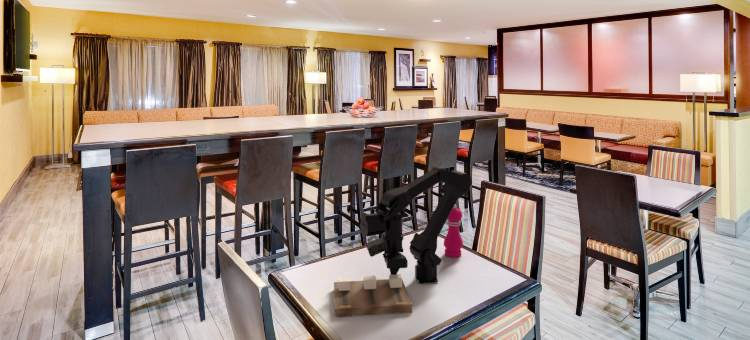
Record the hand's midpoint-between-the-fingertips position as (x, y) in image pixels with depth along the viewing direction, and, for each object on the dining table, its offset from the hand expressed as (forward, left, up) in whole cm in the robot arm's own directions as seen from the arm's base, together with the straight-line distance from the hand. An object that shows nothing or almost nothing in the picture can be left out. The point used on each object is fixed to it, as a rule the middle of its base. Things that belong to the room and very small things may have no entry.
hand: (393, 277), depth 141 cm
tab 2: (+8, +5, 0) cm, 9 cm away
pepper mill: (-27, -24, -4) cm, 37 cm away
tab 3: (0, +5, 0) cm, 5 cm away
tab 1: (+16, +5, 0) cm, 17 cm away
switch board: (+8, +8, -3) cm, 12 cm away
